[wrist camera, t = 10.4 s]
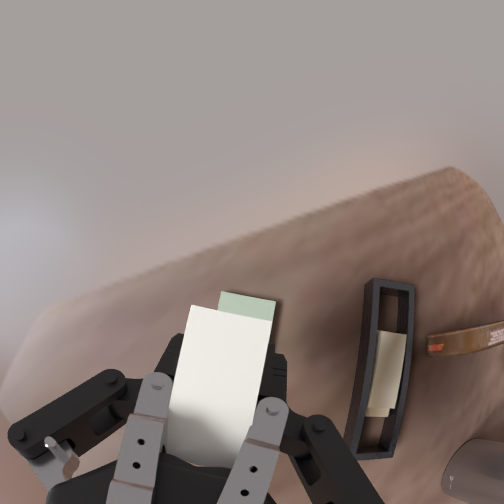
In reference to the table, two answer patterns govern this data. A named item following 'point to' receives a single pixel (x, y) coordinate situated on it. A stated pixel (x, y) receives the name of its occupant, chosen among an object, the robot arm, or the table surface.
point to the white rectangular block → (216, 386)
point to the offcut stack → (386, 373)
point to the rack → (366, 367)
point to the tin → (465, 340)
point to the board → (247, 306)
